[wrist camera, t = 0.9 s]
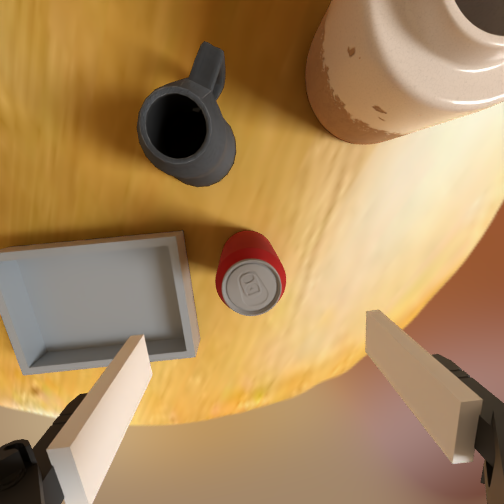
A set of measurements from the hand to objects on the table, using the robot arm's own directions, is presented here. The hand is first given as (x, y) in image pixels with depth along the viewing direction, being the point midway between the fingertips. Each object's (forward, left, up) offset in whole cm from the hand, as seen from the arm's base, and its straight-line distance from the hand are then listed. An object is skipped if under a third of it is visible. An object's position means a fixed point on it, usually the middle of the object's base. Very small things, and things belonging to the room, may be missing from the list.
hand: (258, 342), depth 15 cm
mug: (-15, -4, -20) cm, 25 cm away
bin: (+4, -19, -20) cm, 28 cm away
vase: (-20, +16, -20) cm, 33 cm away
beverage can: (0, 0, -20) cm, 20 cm away
